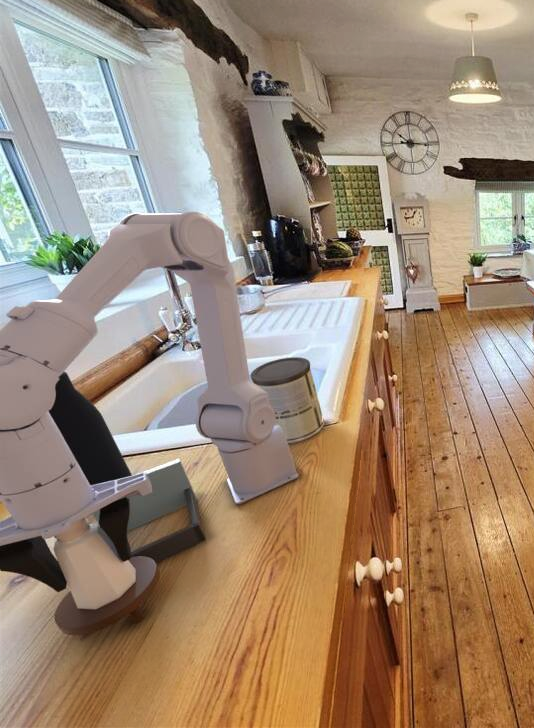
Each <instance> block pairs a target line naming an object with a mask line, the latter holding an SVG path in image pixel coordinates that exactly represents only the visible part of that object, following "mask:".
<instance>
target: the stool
mask: <svg viewBox="0 0 534 728" xmlns="http://www.w3.org/2000/svg"><path fill="white" fill-rule="evenodd" d="M128 561H129V562H130V563H131V564H132V565H133V567H134V568H135V569H136V581H135V583H134V584H133V585H132V586H131V587H130V588H129V589H128V590H127V591H126V592H125V593H124V594H123V595H122V596H121V597H120V598H118V599H116V600H114V601H112V602H110V603H108V604H106V605H104V606H102V607H100V608H98V609H82V608H78V607H77V605H76V603H75V600H74V598H73V596H72V593H71V591H70V590H69V591H68V592H67V593H66V594H65V595H64V597H63V598H62V599H61V601H60V602H59V603H58V605H57V607H56V609H55V612H54V617H53V618H54V622H55V624H56V626H57V627H58V629H59V630H60V631H61V632H62V633H64V634H66V635H68V636H82V635H88V634H92V633H95V632H99V631H100V630H103V629H105V628H107V627H110V626H111V625H113V624H116V623H117V622H119V621H120V620H122V619H123V618H125V617H127V616H129V617H130V619H131V620H132V623H134V624H137V623H139V622H141V621H142V620H143V619H144V618H145V614H144V612H143V611H142V609H141V607H140V606H141V605H142V604H143V603H144V602H146V600H147V599H148V598H149V597H150V595H152V593H153V592H154V590H155V589H156V587H157V585H158V583H159V581H160V577H161V570H160V568H159V566H158V563H155V561H154V560H153V559H151V558H149V557H143V556H138V557H131V559H129V560H128Z"/></svg>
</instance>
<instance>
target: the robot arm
mask: <svg viewBox="0 0 534 728" xmlns="http://www.w3.org/2000/svg"><path fill="white" fill-rule="evenodd" d="M225 236H226V235H225V231H224V229H223V228H221V227H220V226H219V225H218V224H217V223H216V222H214V221H213V220H212V219H211V218H210V217H208V216H207V215H205V214H203V213H201V212H199V211H184V212H171V213H169V212H167V213H145V212H132V213H130V214H127V215H126V216H124V217H123V218H122V220H121V221H120V222H119V224H116V225H115V226H113V227H111V228H110V229H108V236H107V240H106V241H105V243H103V244H102V246H100V248H99V249H98V250H97V251H96V252H95V253H94V254H93V256H92V257H91V258H90V259H89V260H88V261H87V263H86V264H85V265H84V266H82V268H81V269H80V270H79V271H78V273H77V274H76V275H75V276H74V277H73V278H72V279H71V280H70V281H69V283H68V284H67V285H66V286H64V288H63V290H61V292H60V293H58V295H57V296H56V297H55V298H54V299H43V300H42V299H41V300H33V301H30V302H29V303H28V304H26V305H15V306H14V307H13V308H11V309H10V310H9V311H8V312H7V313H6V318H9V319H10V320H9V321H8V322H7V323H6V324H5V325H4V326H3V327H2V328H0V501H1V503H2V504H3V506H4V507H5V509H6V510H7V512H8V513H9V515H10V516H8V517H7V518H5V519H3V520H2V519H1V520H0V571H1V572H6V573H7V572H8V573H12V574H16V575H17V574H18V575H22V576H26V577H28V578H32V579H34V580H36V581H38V582H40V583H43V584H44V585H45V586H47V587H49V588H51V589H52V590H54V591H55V592H57V593H60V592H62V591H64V590H66V589H67V586H68V584H67V581H66V579H65V577H64V574H63V572H62V570H61V567H60V565H59V562H58V560H57V558H56V556H55V554H53V552H52V551H51V549H50V547H49V545H48V543H47V542H46V540H47V539H50V538H53V537H54V536H56V535H58V534H61V533H63V532H65V531H67V530H69V529H70V528H71V527H72V524H73V523H75V522H77V521H79V520H80V519H82V518H84V517H86V518H87V517H88V516H91V514H92V513H93V512H96V511H98V510H100V515H99V526H100V527H101V528H102V529H103V531H104V532H105V533H106V534H107V535H108V537H109V538H110V539H111V541H112V542H113V544H114V546H115V548H116V550H117V552H118V555H119V557H120V559H121V560H122V561H123V562H125V561H127V560H129V559H131V552H132V548H131V546H130V543H129V540H128V539H129V538H128V531H127V526H128V521H129V515H130V501H129V498H132V497H134V496H137V495H139V494H140V496H145V495H147V494H150V493H152V484H151V482H150V480H149V478H148V476H147V474H146V472H144V471H141V472H142V473H141V472H138V473H139V474H138V473H136V474H137V475H135V474H132V476H130V477H126V478H122V479H117V480H113V481H109V482H104V483H100V484H95V485H91V486H90V484H89V482H88V480H87V479H86V477H85V475H84V473H83V471H82V470H81V468H80V466H79V464H78V463H77V461H76V459H75V457H74V456H73V454H72V452H71V450H70V448H69V447H68V445H67V443H66V441H65V440H64V438H63V436H62V434H61V432H60V431H59V429H58V427H57V425H56V424H55V422H54V420H53V419H52V417H51V415H50V413H49V410H50V409H51V408H52V407H53V404H54V402H55V397H56V392H55V385H56V383H57V382H58V380H59V378H58V377H59V376H60V375H61V374H62V373H63V372H66V370H67V369H68V368H69V367H70V366H71V364H72V363H73V362H74V361H75V360H76V359H77V357H79V355H81V353H82V352H83V351H84V350H85V349H86V348H87V346H88V345H89V344H90V343H92V340H94V338H95V337H96V336H97V335H98V334H99V331H98V327H97V323H96V319H95V318H96V317H97V316H98V315H99V314H100V313H101V312H102V311H103V310H104V309H105V308H106V307H107V306H109V304H111V303H112V302H113V301H114V300H115V299H116V298H117V297H118V296H119V295H120V294H121V293H122V292H123V291H125V290H126V288H128V287H129V286H130V285H131V284H132V283H133V282H134V281H135V280H136V279H137V278H139V276H141V275H142V274H143V273H144V272H145V271H148V270H151V269H158V268H162V269H165V270H168V271H170V272H171V273H172V274H175V275H176V276H178V277H179V278H180V279H182V280H184V281H185V282H186V283H188V284H189V287H190V291H191V293H190V294H191V298H192V305H193V309H194V315H195V321H196V327H197V332H198V337H199V344H200V349H201V355H202V360H203V361H202V362H203V366H204V373H205V377H206V384H207V387H206V389H205V390H203V392H201V393H200V394H199V396H198V397H197V398H196V400H197V413H196V418H195V428H196V431H197V432H198V434H199V435H200V436H201V437H203V438H205V439H210V440H211V442H212V445H213V446H216V448H217V450H218V453H219V456H220V458H221V461H222V464H223V466H224V469H225V471H226V474H227V479H226V483H227V486H228V488H229V490H230V492H231V496H232V498H233V500H234V503H235V505H236V506H237V505H241V504H244V503H246V502H248V501H250V500H252V499H254V498H256V497H259V496H260V495H264V494H266V493H267V492H269V491H272V490H274V489H277V488H278V487H280V486H283V485H285V484H287V483H289V482H292V481H294V480H296V479H298V478H299V473H298V472H297V468H296V465H295V462H294V458H293V454H292V451H291V448H290V445H289V444H288V442H287V439H286V437H285V435H284V432H283V430H282V428H281V427H280V426H279V425H275V412H274V409H273V407H272V406H271V405H270V402H269V399H268V393H267V392H266V391H264V390H263V389H262V388H260V387H259V386H257V385H256V384H254V383H253V381H252V379H251V376H250V371H249V364H248V357H247V351H246V346H245V339H244V334H243V333H244V331H243V324H242V319H241V313H240V306H239V299H238V292H237V284H236V278H235V273H234V268H233V265H232V262H231V261H230V259H229V257H228V249H227V243H226V237H225ZM274 425H275V426H274ZM92 515H93V514H92Z"/></svg>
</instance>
